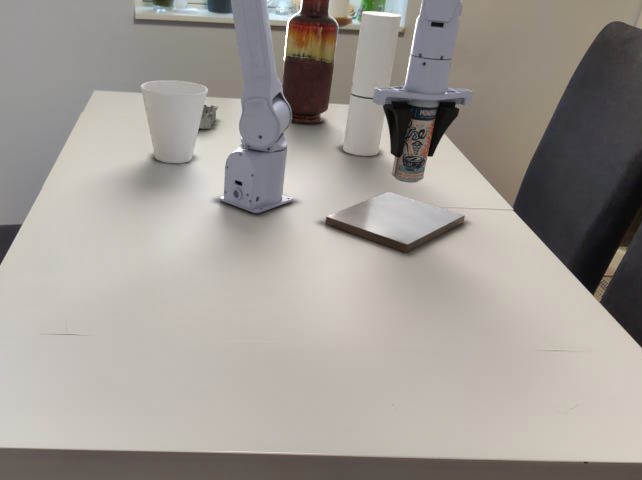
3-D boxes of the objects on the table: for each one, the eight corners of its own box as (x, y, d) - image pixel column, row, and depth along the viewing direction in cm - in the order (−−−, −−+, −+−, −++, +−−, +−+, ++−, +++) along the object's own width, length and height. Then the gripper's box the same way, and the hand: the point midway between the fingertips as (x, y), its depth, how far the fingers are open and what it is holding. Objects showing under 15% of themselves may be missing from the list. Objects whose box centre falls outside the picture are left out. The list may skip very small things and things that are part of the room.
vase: (272, 113, 165) (282, -13, 151) (315, 112, 168) (330, -11, 154) (288, 125, 156) (301, -7, 142) (334, 124, 160) (351, -5, 146)
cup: (162, 170, 124) (162, 96, 117) (129, 152, 131) (128, 82, 125) (218, 162, 130) (221, 91, 123) (183, 145, 138) (184, 78, 131)
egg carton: (186, 115, 158) (187, 96, 156) (219, 119, 157) (220, 100, 155) (174, 127, 149) (175, 106, 147) (209, 130, 148) (210, 110, 146)
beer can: (393, 182, 104) (409, 97, 98) (388, 172, 108) (403, 90, 102) (425, 185, 104) (443, 100, 98) (419, 174, 108) (436, 93, 102)
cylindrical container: (377, 147, 146) (399, 13, 132) (379, 157, 140) (403, 17, 126) (342, 144, 146) (361, 10, 133) (343, 153, 140) (363, 14, 127)
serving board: (405, 252, 100) (407, 244, 99) (325, 223, 107) (326, 216, 106) (463, 222, 111) (465, 215, 111) (387, 198, 119) (388, 191, 118)
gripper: (462, 52, 102) (442, 146, 109) (370, 49, 99) (355, 147, 106) (489, 61, 97) (465, 160, 104) (392, 59, 93) (375, 161, 100)
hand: (411, 154), depth 104 cm, fingers closed on beer can, 5 cm apart
